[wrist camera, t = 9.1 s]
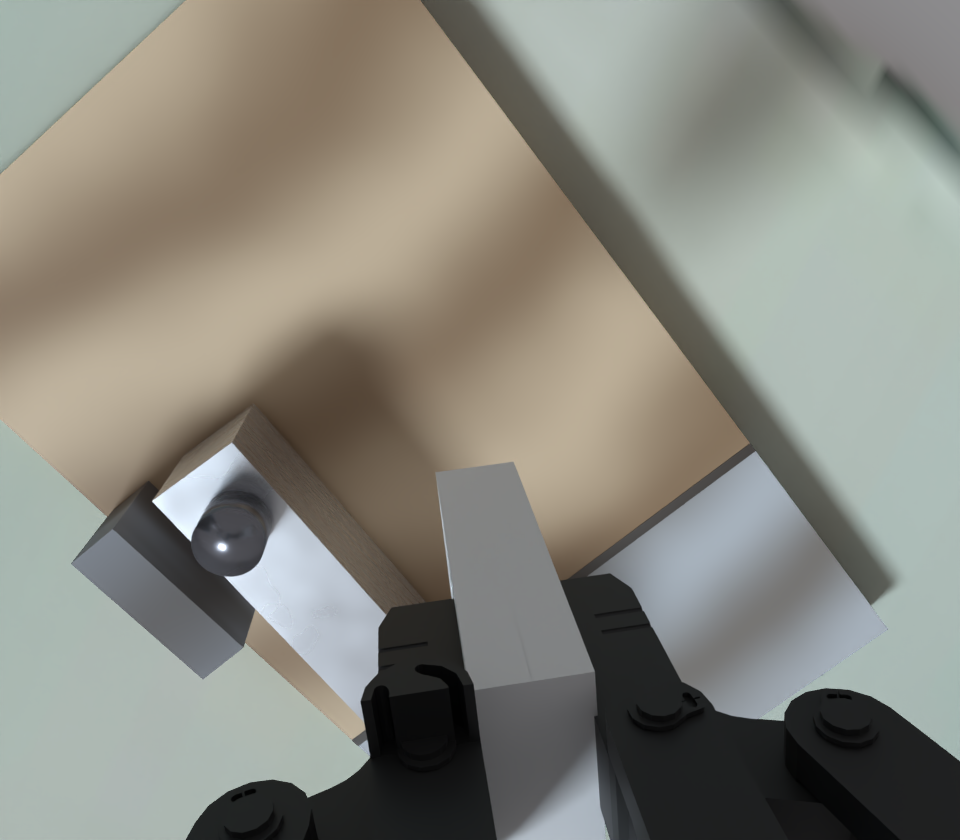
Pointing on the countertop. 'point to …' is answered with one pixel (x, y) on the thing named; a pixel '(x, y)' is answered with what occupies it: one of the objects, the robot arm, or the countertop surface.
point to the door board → (376, 343)
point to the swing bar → (287, 548)
